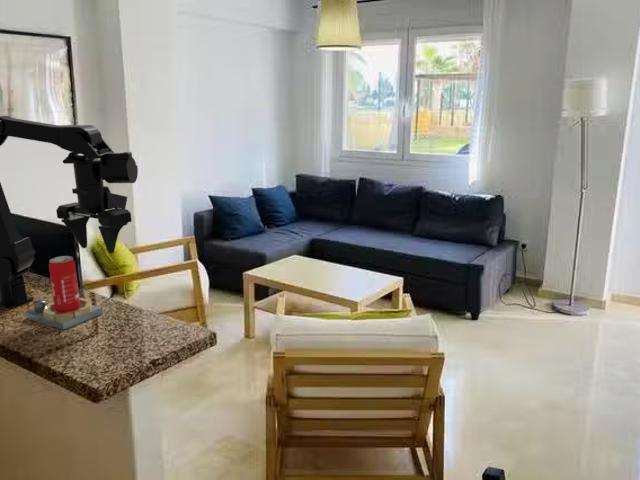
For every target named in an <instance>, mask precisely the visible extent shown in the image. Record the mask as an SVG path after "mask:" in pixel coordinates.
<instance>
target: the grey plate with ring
mask: <svg viewBox="0 0 640 480" xmlns="http://www.w3.org/2000/svg"><path fill="white" fill-rule="evenodd" d="M79 299H80V306H79V309H78V310H75V311H72V312H62V313H57V311H56V310H55V307H54V301H51V302H49V303H48V302H47V299H43V298H41V299H37V300H34V301H33V309H30V310H27V311H25V316H26V317H25V318H26V319H28V320H31V321H34V322H37V323H40V324H44V325H47V326H51V327H54V328H57V329H59V330H62V329H63V330H62V331H65V330H67V328H68V329H70V328H72V327H75V326H77V325H80V324H82V323H85V322H87V321H89V320H91V319H94V318H97V317H99V316H102V315H103V314H104V310H103V307H101V306H98V305H94V304H93V302H92V300H90V299H87V298H83V297H79ZM84 321H85V322H84ZM81 322H82V323H81ZM79 323H80V324H79ZM74 325H75V326H74ZM69 327H70V328H69ZM64 329H65V330H64Z"/></svg>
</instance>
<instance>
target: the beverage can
mask: <svg viewBox="0 0 640 480" xmlns="http://www.w3.org/2000/svg"><path fill="white" fill-rule="evenodd" d="M48 270H49V277H50V285H51V292H52V298H53V302H54V307H55V310H56V311H57V313H62V312H72V311H75V310H78V309H79V306H80V299H79V298H80V293H79V285H78V277H77V270H76V261H75V260H74V257H73V256H72V255H71V256H70V255H60V256H56V257H53V258H50V259H49V262H48Z"/></svg>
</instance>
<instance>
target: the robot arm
mask: <svg viewBox="0 0 640 480" xmlns="http://www.w3.org/2000/svg"><path fill="white" fill-rule="evenodd" d="M9 137H12V138H18V139H23V140H29V141H36V142H42V143H47V144H51V145H52V144H53V145H54V146H57V147H59V148H60V149H62V150H64V151H68V152H69V153H68V155H67V156H66V157H65V159H63V160H62V163H63V164H67V165H69V164H71V165H72V164H73V172H74V180H75V188H71V190H72V192H71V193H72V194H74V195H75V194H76V197H77V202H76V201H75V202H70V203H65V204H61V205H58V207H57V209H56V218H57V219H61V222H62V223H63V224H64V225H65V227H66V228H67V229H68V230H69V232H70V233H71V235H72V236H73V237H74V239H75V240H76V241H77V243H78V245H80V247H81V248H82V249H86V248H87V247H88V232H87V231H88V230H87V229H88V228H87V225H88V222H89V220H90V219H97V221H98V223H99V224H100V225H99V226H97V227H98V229H99V232H100V235H101V237H102V240H103V243H104V245H105V248H106V250H107V252H108V254H113V253H115V249H116V244H117V241H118V237H119V235H120V232H121V230H122V229H123V227H125V226H127V225H128V224H129V223H131V222H132V212H131V211H130V210H129V209H127V201H128V196H125V195H121V194H117V193H113V192H111V190H110V187H109V186H106V185H104V181H105V182H106V184H107V183H108V184H134V183H136V182H137V179H138V173H139V171H138V170H139V169H138V165H137V163H136V160H135V159H134V157H133V153H132V151H124V152H115V151H113V150H112V148H111V147H110V146H109V145H108V143H107V142H106V141H105V140H104V138H103V136H102V134H101V131H100V130H99V129H98V127H96V126H94V125H91V124H82V125H81V124H78V125H77V124H76V125H75V124H74V125H57V124H51V123H46V122H38V121H33V120H28V119H27V120H26V119H22V118H16V117H11V116H9V115H0V147H1V146H2V145H4V144H5V142H6V141H7V140H8V138H9ZM32 244H33V243H32V239H31V238H30V236H27V237H23V235H21V234H20V233H19V231H18V230H17V227H16V224H15V221H14V218H13V215H12V212H11V210H10V207H9V204H8V201H7V198H6V195H5V192H4V189H3V186H2V183H1V182H0V307H3V308H6V309H10V308H14V307H16V306H19V305H23V304H25V303H28V302H30V301H33V300H34V297H32V296H29V295H28V293H27V289H26V284H25V278H24V274H26V273H29V272H30V267H31V265H32V264H33V262H34V261H35V254H36V250H35V249H34V247H33V245H32Z"/></svg>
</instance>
